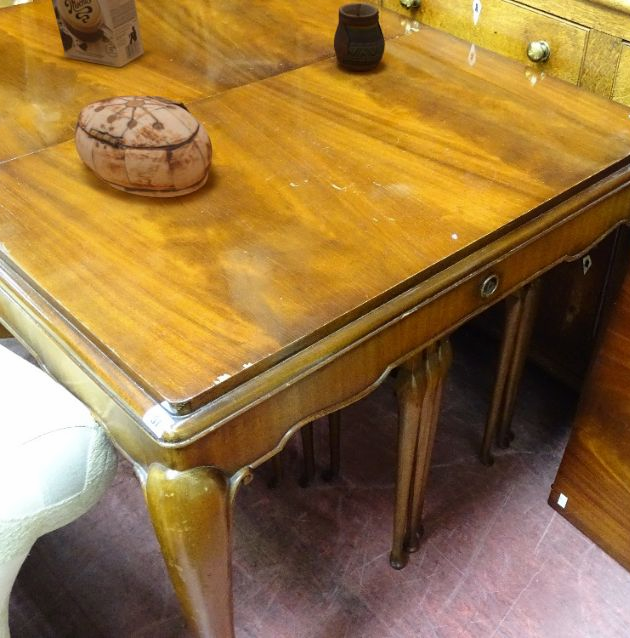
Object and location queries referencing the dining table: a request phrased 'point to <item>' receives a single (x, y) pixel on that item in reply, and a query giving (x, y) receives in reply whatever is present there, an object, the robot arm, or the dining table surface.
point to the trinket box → (144, 145)
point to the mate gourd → (359, 37)
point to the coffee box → (99, 30)
